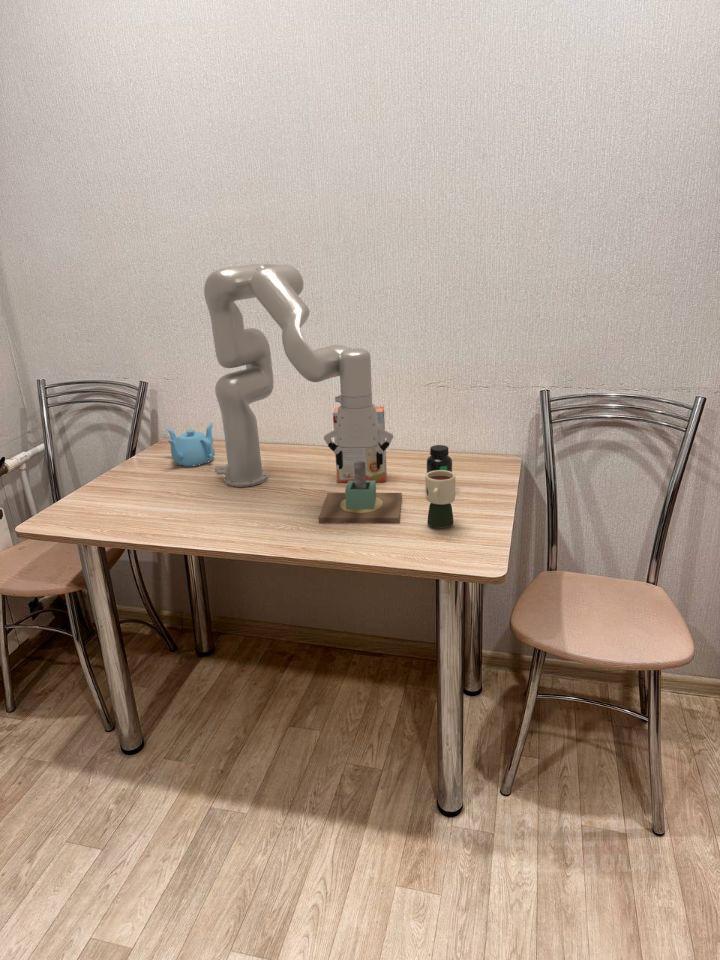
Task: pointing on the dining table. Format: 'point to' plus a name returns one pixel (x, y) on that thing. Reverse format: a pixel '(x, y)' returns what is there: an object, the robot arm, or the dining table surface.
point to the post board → (383, 510)
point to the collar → (360, 496)
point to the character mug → (440, 497)
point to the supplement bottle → (439, 459)
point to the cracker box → (362, 456)
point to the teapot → (192, 447)
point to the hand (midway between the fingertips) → (359, 467)
